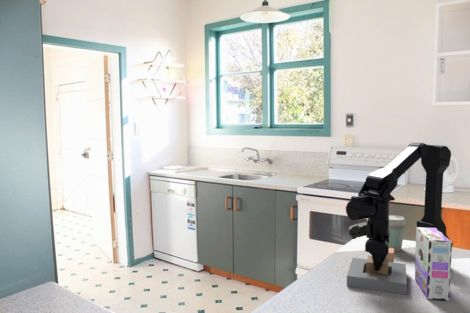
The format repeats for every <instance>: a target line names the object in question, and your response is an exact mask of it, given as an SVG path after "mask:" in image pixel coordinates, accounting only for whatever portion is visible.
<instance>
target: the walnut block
mask: <svg viewBox="0 0 470 313" xmlns="http://www.w3.org/2000/svg"><path fill="white" fill-rule="evenodd" d="M366 259H367V262H366V273H369V274H376V275H384V276H388V260H389V258H385V260H384V262H383V264H382V266H381V268H380V270H379V271H375V268H374V263H373V259H372V255H367V258H366Z"/></svg>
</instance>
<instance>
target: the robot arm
mask: <svg viewBox="0 0 470 313" xmlns="http://www.w3.org/2000/svg"><path fill="white" fill-rule="evenodd" d="M451 157H452V151H451V149H450V148H449V147H448V146H446V145H439V144H438V145H434V144H427V143H425V142H409V143H408V145H407V147H406V148H404V150H402V152H401V153H400V154H399V155H398V156H396V157H395V158H394V159H393V160H392V161H391V162H389V163H388V164H387V165H385V166H384V167H382V168H379V169H375V171H373V172H371V173H369V174H368V175H367V176H366V178H365V181H364V183H363V185H362V187H361V188H360V190H359V192H358V194H357V195H358V196H356V195H352V196H351V197H350V200H349V201H348V202H347V204H346V206H345V213H346V215H347V217H348V219H350V220H352V221H358V220H365V219H367V220H366V221H364V222H360V223H356V224H352V225H349V227H348V228H347V229H348V235H349V236H350V237H351V240H356V239H357V238H361V237H366V238H367V240H366V241H365V243H364V252H367V253H369V254H370V256H372V259H373V263H374V268H375V271H379V270H380V268H381V266H382V264H383V262H384V260H385V258H386V256H387V254H388V253H389V239H388V238H390V230H389V215H390V202H393V201H395V200H396V199H395V197H394V196H393V195H391V193H392V192H393V191H394V190H395V188H396V187H397V186H398V181H399V179H400V177H402V176H403V175H404V174H405V173H406V172H407V171H409V169H410V168H411V167H413V165H415V163H416V162H418V161H419V160H420V163H421V166H422V168H423V169H424V171H425V185H424V186H425V188H424V205H423V206H424V209H423V216H422V218H421V219H420V220H417V221H416V223H415V224H416V227H426V228H436V229H438V230H439V231H440V232H441V233H442V234H443V235H445V236H446V237H447V238H448V239H449V240H451V239H450V237H449V236H448V235H447V226H446V223H445V222H444V220H443V218H442V207H443V203H442V202H443V187H444V186H443V184H444V183H443V182H444V173H445V172H446V171H447V169H448V168H449V166H450V164H451ZM453 245H454V243H453V241H452V246H453Z"/></svg>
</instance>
